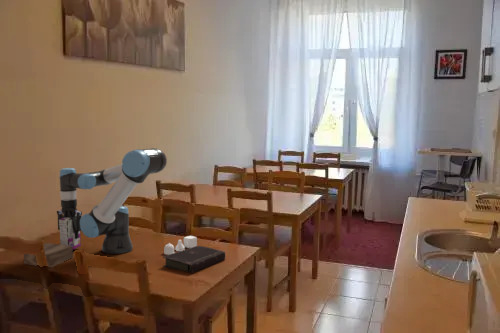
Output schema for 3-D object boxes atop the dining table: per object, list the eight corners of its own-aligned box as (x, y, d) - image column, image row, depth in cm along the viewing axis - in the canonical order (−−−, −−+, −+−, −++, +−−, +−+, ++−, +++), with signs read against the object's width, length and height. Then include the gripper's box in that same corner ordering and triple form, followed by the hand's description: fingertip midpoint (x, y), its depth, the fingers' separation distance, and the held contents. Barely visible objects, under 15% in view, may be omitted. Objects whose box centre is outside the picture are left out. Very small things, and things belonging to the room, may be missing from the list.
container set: (190, 245, 255) (190, 235, 254) (197, 247, 252) (197, 237, 251) (161, 253, 239) (161, 243, 239) (168, 255, 236) (168, 244, 235)
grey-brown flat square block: (72, 258, 230) (72, 245, 229) (51, 267, 216) (50, 254, 215) (47, 254, 234) (46, 243, 234) (24, 263, 220) (23, 251, 220)
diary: (225, 261, 230) (225, 251, 229) (192, 275, 209) (192, 264, 209) (195, 254, 240) (196, 244, 240) (161, 267, 219) (161, 256, 219)
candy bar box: (72, 245, 247) (71, 214, 245) (81, 246, 246) (80, 215, 244) (59, 251, 236) (58, 219, 234) (68, 252, 235) (67, 219, 233)
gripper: (88, 198, 239) (90, 243, 241) (58, 196, 244) (60, 241, 247) (79, 201, 232) (81, 247, 234) (48, 199, 237) (50, 244, 240)
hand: (70, 244), depth 240 cm, fingers closed on candy bar box, 5 cm apart
